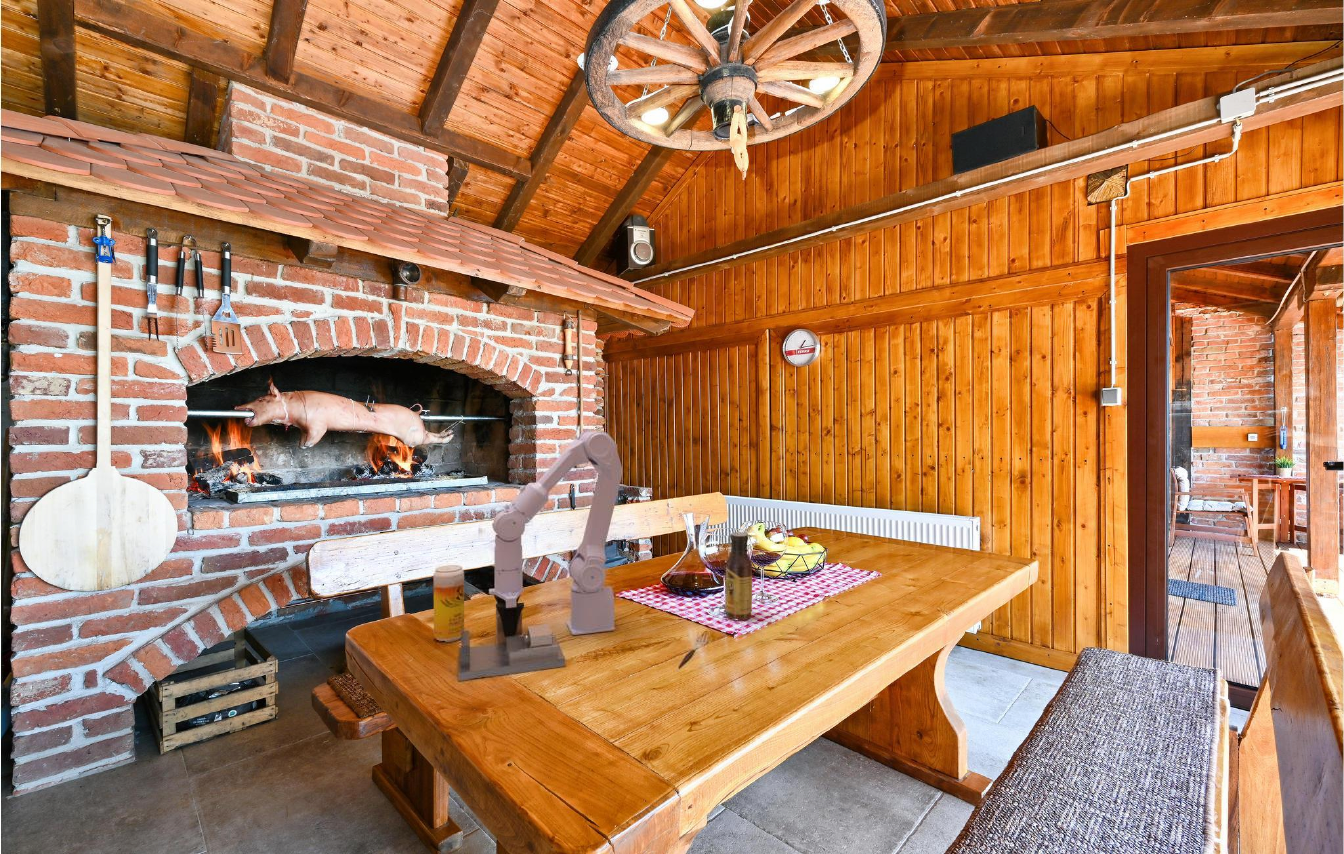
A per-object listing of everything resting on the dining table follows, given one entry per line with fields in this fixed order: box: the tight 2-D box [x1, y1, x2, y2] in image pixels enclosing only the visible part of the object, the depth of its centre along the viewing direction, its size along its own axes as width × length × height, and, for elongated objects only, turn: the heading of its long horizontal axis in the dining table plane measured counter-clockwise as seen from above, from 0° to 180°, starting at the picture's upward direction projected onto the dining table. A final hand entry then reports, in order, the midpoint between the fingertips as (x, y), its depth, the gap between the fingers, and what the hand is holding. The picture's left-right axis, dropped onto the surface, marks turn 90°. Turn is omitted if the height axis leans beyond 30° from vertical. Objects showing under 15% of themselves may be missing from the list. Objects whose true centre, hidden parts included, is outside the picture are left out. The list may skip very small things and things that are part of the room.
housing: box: [495, 609, 523, 644], centre depth 127 cm, size 5×5×7 cm
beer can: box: [433, 564, 465, 643], centre depth 127 cm, size 6×6×15 cm
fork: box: [678, 631, 710, 669], centre depth 119 cm, size 3×16×2 cm, turn 160°
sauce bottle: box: [724, 531, 753, 621], centre depth 140 cm, size 7×6×20 cm
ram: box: [522, 623, 553, 648], centre depth 117 cm, size 5×6×4 cm
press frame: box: [457, 630, 566, 682], centre depth 115 cm, size 19×12×6 cm, turn 109°
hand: (508, 631), depth 127 cm, fingers open, 6 cm apart
